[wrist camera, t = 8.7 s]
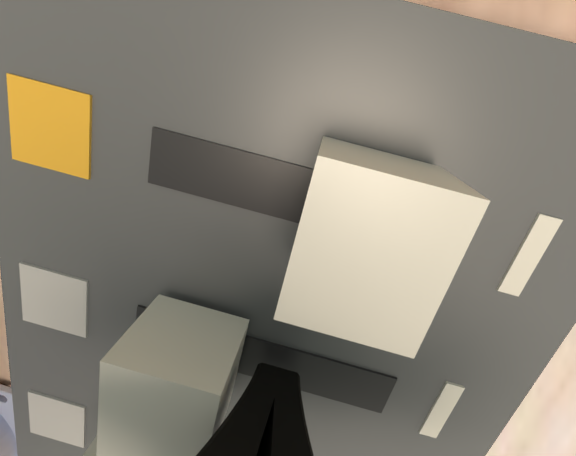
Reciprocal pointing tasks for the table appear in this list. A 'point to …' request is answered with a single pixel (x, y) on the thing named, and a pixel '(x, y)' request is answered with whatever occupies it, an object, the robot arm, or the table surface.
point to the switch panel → (276, 200)
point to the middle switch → (168, 380)
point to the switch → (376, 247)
